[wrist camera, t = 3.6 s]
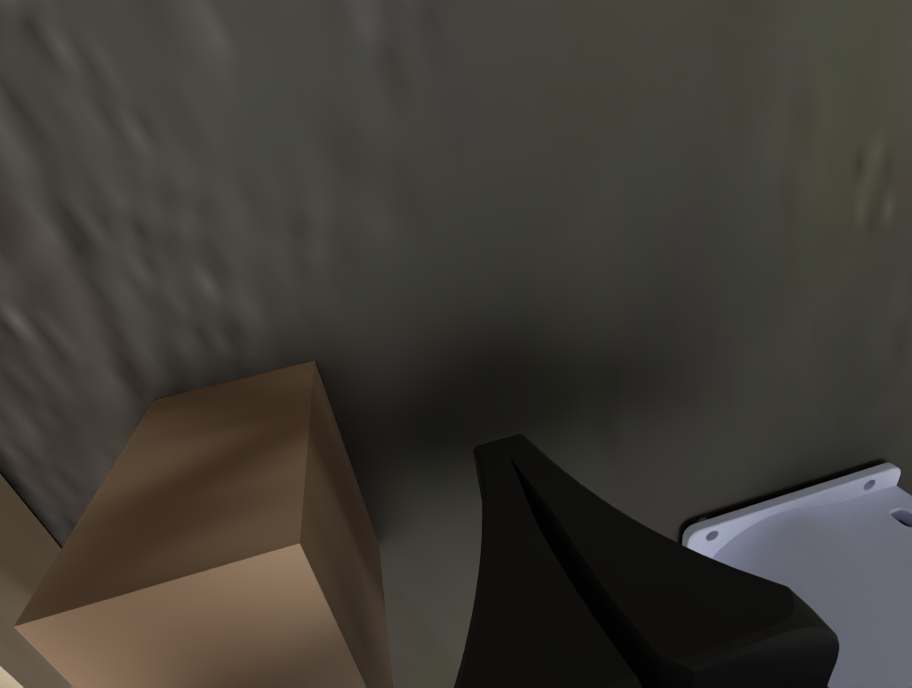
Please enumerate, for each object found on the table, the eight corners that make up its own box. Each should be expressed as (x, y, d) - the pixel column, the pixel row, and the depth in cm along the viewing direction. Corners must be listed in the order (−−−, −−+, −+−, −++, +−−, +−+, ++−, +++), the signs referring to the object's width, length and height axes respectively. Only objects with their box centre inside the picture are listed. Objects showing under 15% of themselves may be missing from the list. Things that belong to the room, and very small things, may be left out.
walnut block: (314, 359, 12) (299, 543, 7) (378, 541, 16) (400, 759, 11) (153, 398, 12) (13, 626, 7) (254, 579, 15) (212, 826, 10)
